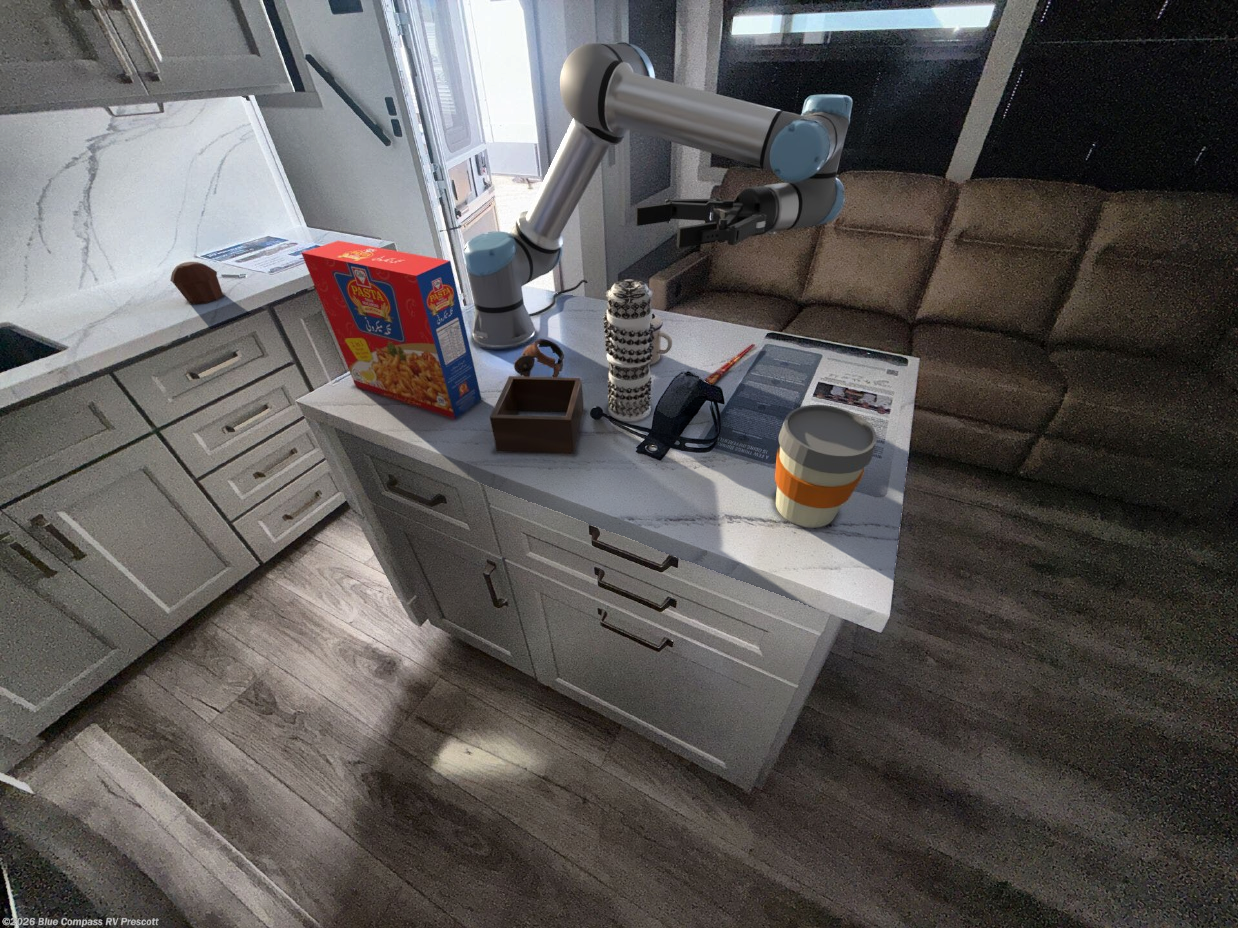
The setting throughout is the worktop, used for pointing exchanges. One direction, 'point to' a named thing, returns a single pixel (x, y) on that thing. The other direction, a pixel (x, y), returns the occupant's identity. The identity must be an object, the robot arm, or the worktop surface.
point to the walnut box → (538, 430)
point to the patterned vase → (629, 349)
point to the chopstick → (726, 367)
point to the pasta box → (397, 324)
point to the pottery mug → (539, 358)
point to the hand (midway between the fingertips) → (655, 226)
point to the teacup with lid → (658, 340)
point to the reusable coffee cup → (820, 462)
